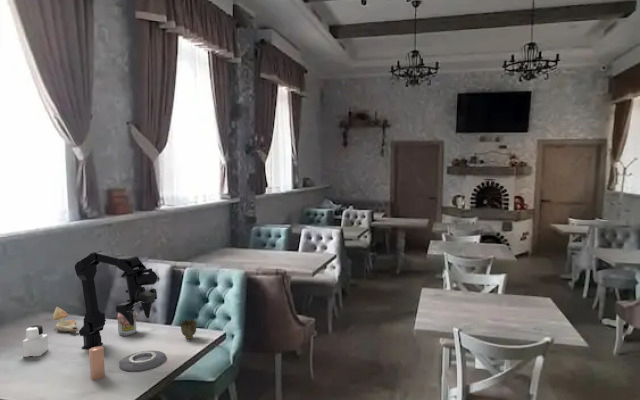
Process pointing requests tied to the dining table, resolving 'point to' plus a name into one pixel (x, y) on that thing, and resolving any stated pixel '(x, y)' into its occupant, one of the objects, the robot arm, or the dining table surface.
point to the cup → (188, 328)
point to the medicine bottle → (35, 342)
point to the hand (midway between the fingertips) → (140, 321)
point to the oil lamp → (64, 325)
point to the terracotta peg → (97, 362)
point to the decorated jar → (126, 325)
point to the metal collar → (132, 362)
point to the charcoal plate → (134, 368)
